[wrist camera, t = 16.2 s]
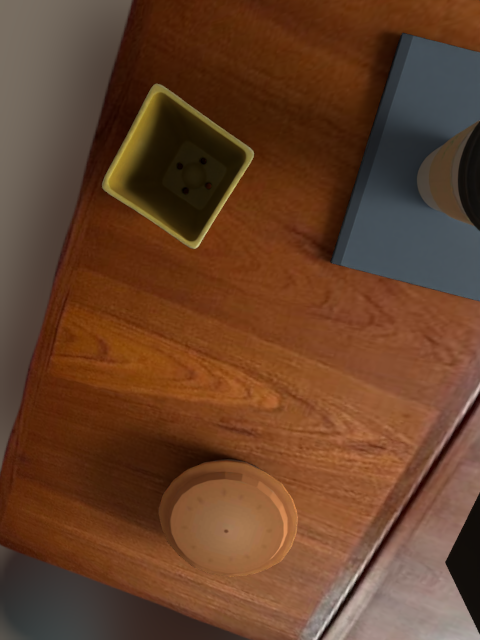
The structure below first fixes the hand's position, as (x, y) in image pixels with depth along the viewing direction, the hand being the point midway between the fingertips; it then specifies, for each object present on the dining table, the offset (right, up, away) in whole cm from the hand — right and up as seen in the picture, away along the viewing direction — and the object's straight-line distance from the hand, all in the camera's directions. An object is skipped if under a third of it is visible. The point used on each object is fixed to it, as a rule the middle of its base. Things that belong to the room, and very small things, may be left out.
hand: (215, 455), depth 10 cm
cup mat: (+20, +16, +28) cm, 38 cm away
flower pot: (-4, +17, +30) cm, 34 cm away
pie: (-1, -18, +39) cm, 43 cm away
